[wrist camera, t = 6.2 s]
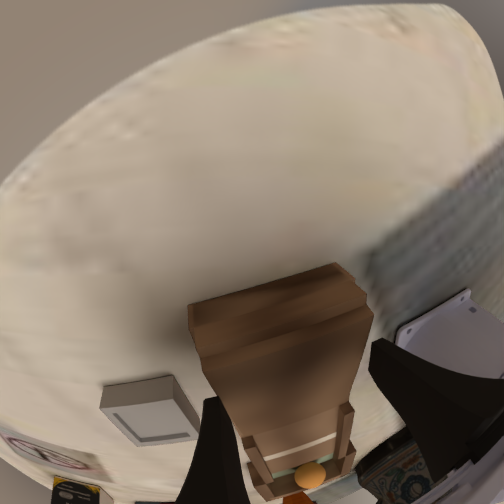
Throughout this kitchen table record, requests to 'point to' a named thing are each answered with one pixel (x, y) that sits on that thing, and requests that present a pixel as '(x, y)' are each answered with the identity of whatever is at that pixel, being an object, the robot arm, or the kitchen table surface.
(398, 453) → the beer stein
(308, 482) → the ball
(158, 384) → the gray box
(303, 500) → the carrot
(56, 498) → the medicine bottle
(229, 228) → the kitchen table surface
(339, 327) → the brown wooden shallow tray
